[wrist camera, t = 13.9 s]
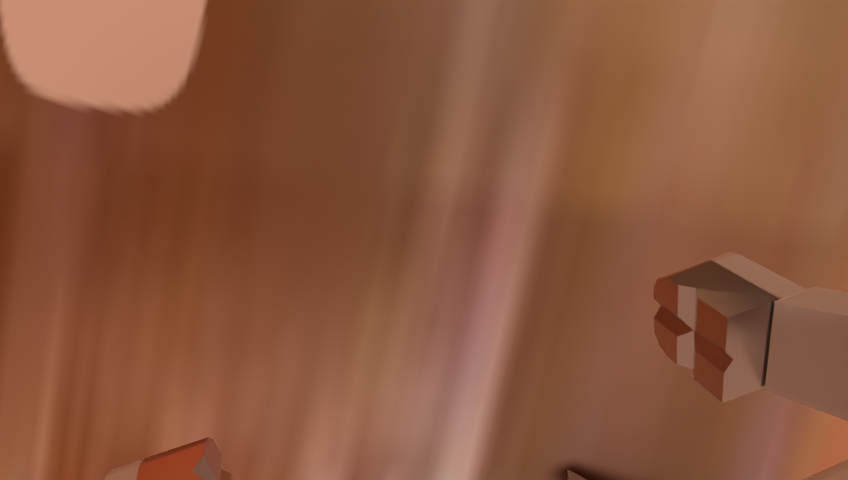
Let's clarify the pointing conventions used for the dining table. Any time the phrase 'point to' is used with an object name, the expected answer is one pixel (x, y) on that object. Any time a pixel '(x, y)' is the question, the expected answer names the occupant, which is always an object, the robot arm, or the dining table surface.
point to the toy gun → (574, 476)
